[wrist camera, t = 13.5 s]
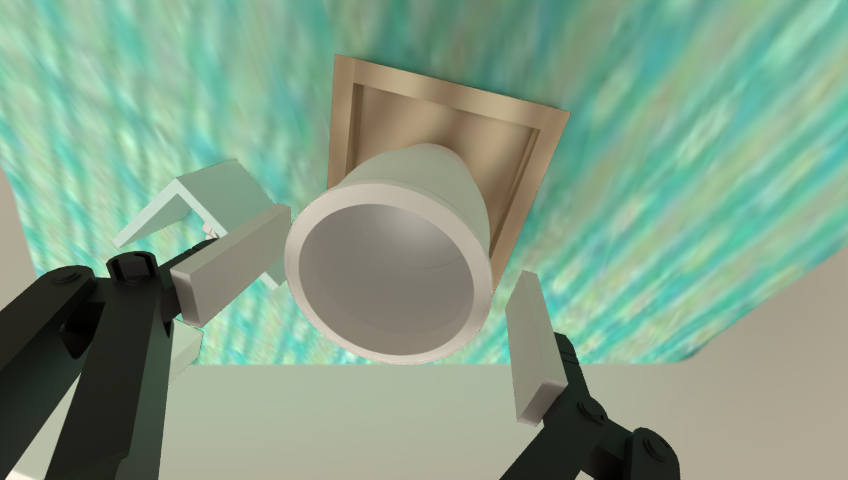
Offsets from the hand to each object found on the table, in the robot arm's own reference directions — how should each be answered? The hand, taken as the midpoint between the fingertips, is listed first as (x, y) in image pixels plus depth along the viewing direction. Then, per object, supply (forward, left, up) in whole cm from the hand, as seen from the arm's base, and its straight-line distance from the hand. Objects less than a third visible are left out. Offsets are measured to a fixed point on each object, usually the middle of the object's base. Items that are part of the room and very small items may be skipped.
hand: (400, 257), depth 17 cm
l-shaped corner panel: (+20, +11, -14) cm, 27 cm away
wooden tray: (0, 0, -13) cm, 13 cm away
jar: (0, 0, -12) cm, 12 cm away
